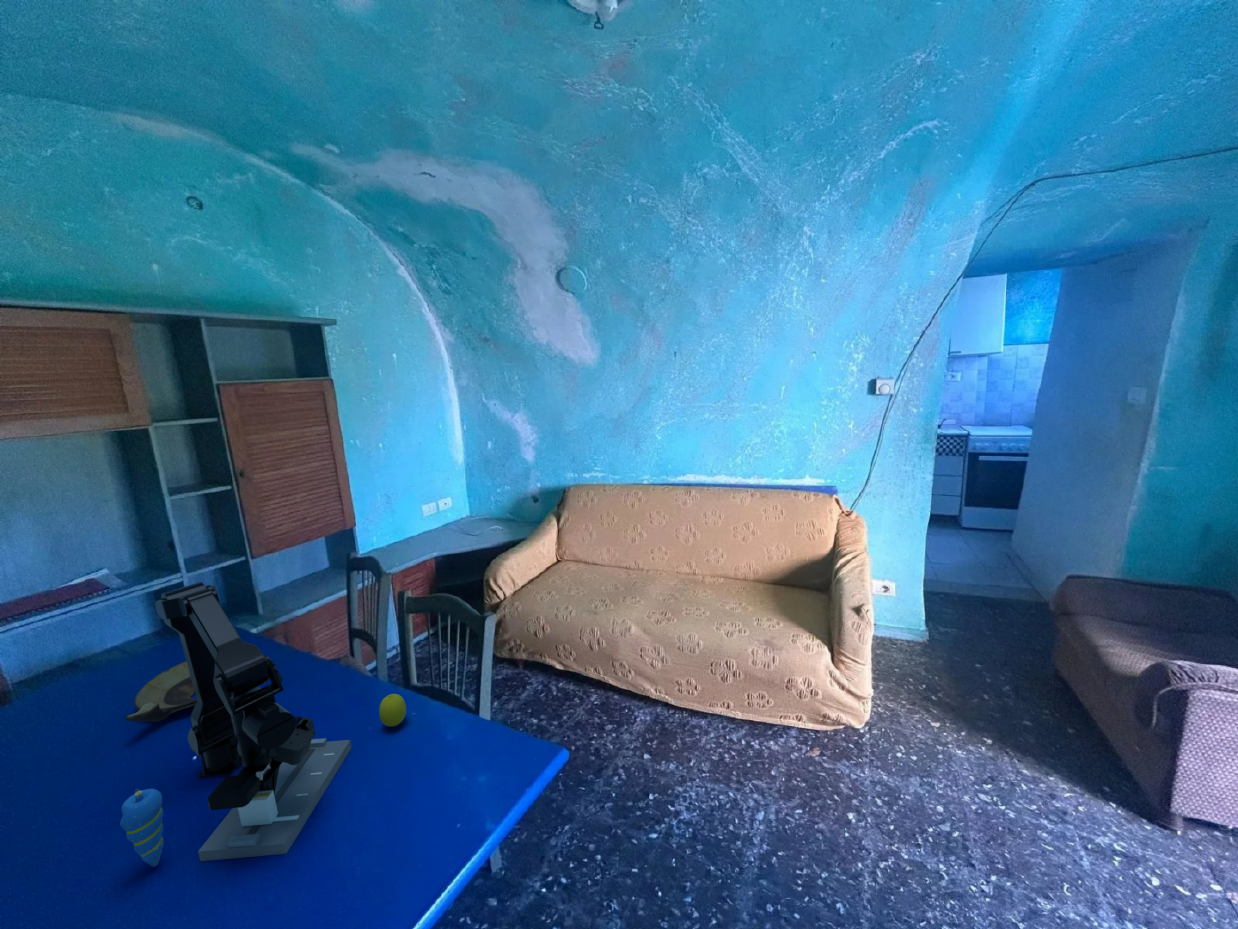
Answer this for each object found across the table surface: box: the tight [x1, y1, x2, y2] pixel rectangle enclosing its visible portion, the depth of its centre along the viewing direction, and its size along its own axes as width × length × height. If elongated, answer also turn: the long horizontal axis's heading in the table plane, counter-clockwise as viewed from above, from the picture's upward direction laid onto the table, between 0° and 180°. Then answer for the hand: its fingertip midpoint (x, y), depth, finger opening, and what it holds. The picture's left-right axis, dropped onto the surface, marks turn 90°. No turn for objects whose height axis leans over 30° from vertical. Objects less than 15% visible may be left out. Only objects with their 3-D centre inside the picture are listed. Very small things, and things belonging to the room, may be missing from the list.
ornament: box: [119, 788, 165, 868], centre depth 83 cm, size 5×5×15 cm
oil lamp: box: [124, 660, 197, 722], centre depth 127 cm, size 22×30×8 cm
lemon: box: [378, 693, 407, 728], centre depth 114 cm, size 6×6×8 cm
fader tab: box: [238, 790, 278, 826], centre depth 89 cm, size 5×2×5 cm, turn 93°
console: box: [197, 737, 352, 862], centre depth 96 cm, size 14×24×3 cm, turn 3°
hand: (270, 798), depth 92 cm, fingers closed
